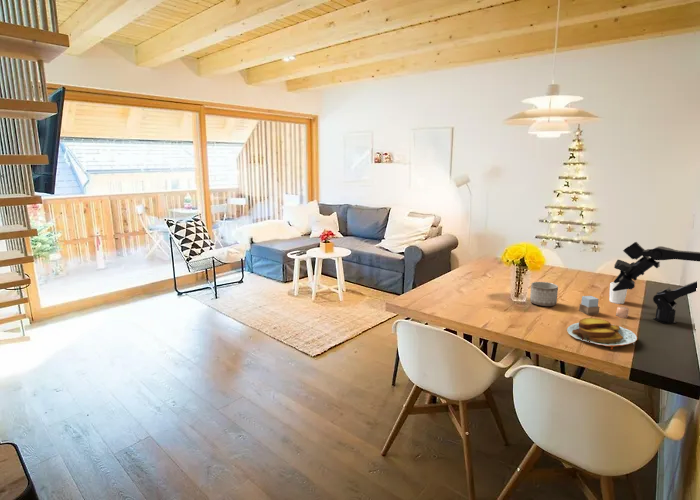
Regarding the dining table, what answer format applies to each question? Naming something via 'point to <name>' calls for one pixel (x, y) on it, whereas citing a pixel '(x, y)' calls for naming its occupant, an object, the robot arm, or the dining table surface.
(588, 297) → the tower top
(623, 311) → the pink rounded block
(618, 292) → the white cup
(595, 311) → the tower base
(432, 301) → the dining table surface
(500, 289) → the dining table surface
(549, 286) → the planter
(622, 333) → the food on plate
